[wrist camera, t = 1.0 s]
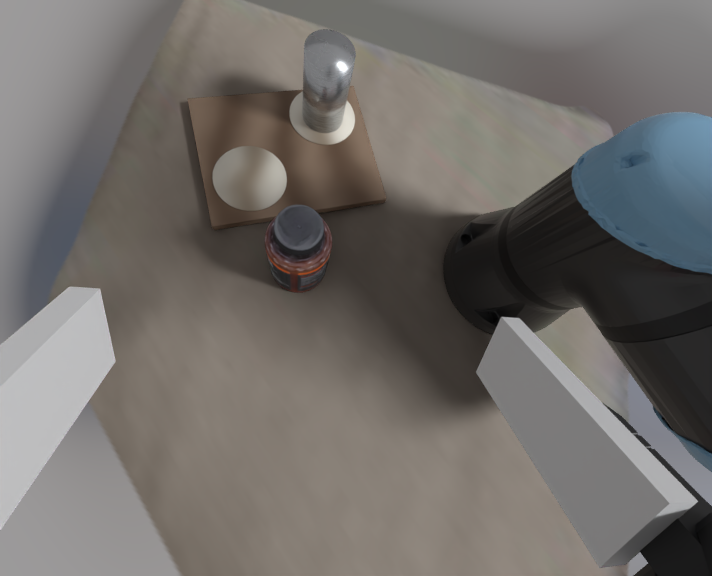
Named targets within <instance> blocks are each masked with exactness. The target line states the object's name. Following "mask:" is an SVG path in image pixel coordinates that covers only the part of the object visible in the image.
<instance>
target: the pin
mask: <svg viewBox="0 0 712 576" xmlns="http://www.w3.org/2000/svg"><path fill="white" fill-rule="evenodd" d="M355 56H356V53H355V48H354V46H353V44H352V43H351V41H350V40H349V39H348V38H347V37H346V36H344V35H343V34H341V33H339V32H337V31H334V30H328V29H323V30H318V31H315V32H313V33H311V34H310V35H309V36H308V37H307V39H306V41H305V45H304V71H303V101H302V117H303V120H304V122H305V123H306V125H307V126H308V127H309V128H311V129H312V130H314V131H316V132H319V133H331V132H334V131H336V130H337V129H338V128H339V127H340V126H341V124H342V122H343V117H344V112H345V107H346V102H347V97H348V92H349V87H350V82H351V77H352V72H353V67H354V62H355Z"/></svg>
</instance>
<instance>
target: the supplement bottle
mask: <svg viewBox="0 0 712 576" xmlns="http://www.w3.org/2000/svg"><path fill="white" fill-rule="evenodd" d="M265 248H266V253H267V256H268V260H269V264H270V268H271V272H272V275H273V277H274V279H275V280H276V282H277V283H278V284H279V285H280V286H281V287H282V288H284V289H286V290H288V291H291V292H306V291H309V290H311V289H313V288H314V287H316V286H317V285H318V284H319V283H320V281H321V280H322V278H323V276H324V274H325V270H326V267H327V264H328V260H329V256H330V253H331V248H332V235H331V232H330V229H329V227H328V225H327V224H326V222H325V221H324V220H323V219H322V218H321V217H320V215H319V214H318V213H317V212H316V211H315V210H314V209H312V208H310V207H308V206H305V205H291V206H288V207H286V208H284V209H283V210H282V211H281V212H280V213H279V214H278V215H277V216H276V217H275V218H274V219H273V220H272V221H271V223H270V224H269V226H268V228H267V230H266V234H265Z"/></svg>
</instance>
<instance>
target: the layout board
mask: <svg viewBox="0 0 712 576" xmlns="http://www.w3.org/2000/svg"><path fill="white" fill-rule="evenodd" d="M302 101H303V90H294V91H281V92H268V93H255V94H242V95H229V96H216V97H203V98H189V99H188V104H189V109H190V115H191V120H192V125H193V131H194V136H195V141H196V146H197V152H198V157H199V162H200V168H201V173H202V178H203V183H204V189H205V194H206V199H207V205H208V210H209V215H210V220H211V226H212V228H213V230H219V229H225V228H231V227H237V226H243V225H249V224H256V223H262V222H268V221H272V220H273V219H274V218H275V217H276V216H277V215H278V214H279V213H280V212H281V211H282V210H283V209H284V208H286V207H288V206H291V205H305V206H308V207H310V208H312V209H314V210H315V211H316V212H317V213H324V212H330V211H336V210H342V209H348V208H354V207H361V206H367V205H373V204H379V203H385V201H386V199H387V198H386V195H385V192H384V188H383V185H382V181H381V178H380V175H379V171H378V168H377V164H376V161H375V158H374V154H373V151H372V147H371V144H370V141H369V137H368V134H367V130H366V127H365V124H364V120H363V117H362V113H361V110H360V107H359V103H358V100H357V97H356V93H355V90H354V86H350V87H349V92H348V97H347V102H346V107H345V112H344V117H343V122H342V124H341V126H340V127H339V128H338V129H337V130H336V131H334V132H331V133H319V132H316V131H314V130H312V129H311V128H309V127H308V126H307V125H306V123H305V122H304V120H303V117H302Z"/></svg>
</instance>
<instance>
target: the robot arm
mask: <svg viewBox="0 0 712 576" xmlns="http://www.w3.org/2000/svg"><path fill="white" fill-rule="evenodd" d="M444 279H445V284H446V287H447V290H448V293H449V295H450V297H451V299H452V301H453V303H454V305H455V306H456V308H457V309H458V310H459V312H460V313H461V314H462V315H463V316H464V317H465V318H466V319H467V320H468V321H469V322H471V323H472V324H473V325H475V326H476V327H478V328H479V329H481V330H483V331H485V332H488V333H491V334H493V336H492V338H491V340H490V342H489V345H488V347H487V349H486V351H485V353H484V356H483V358H482V360H481V362H480V364H479V367H478V369H477V371H476V373H477V375H478V376H479V378H480V380H481V381H482V383H483V384H484V386H485V387H486V389H487V391H488V392H489V394H490V395H491V397H492V399H493V400H494V402H495V403H496V405H497V406H498V408H499V410H500V411H501V413H502V414H503V416H504V417H505V419H506V421H507V422H508V424H509V425H510V427H511V429H512V430H513V432H514V433H515V435H516V436H517V438H518V440H519V441H520V443H521V444H522V446H523V448H524V449H525V451H526V452H527V454H528V455H529V457H530V459H531V460H532V462H533V463H534V465H535V466H536V468H537V470H538V471H539V473H540V474H541V476H542V478H543V479H544V481H545V482H546V484H547V485H548V487H549V489H550V490H551V492H552V493H553V495H554V497H555V498H556V500H557V501H558V503H559V504H560V506H561V508H562V509H563V511H564V512H565V514H566V515H567V517H568V519H569V520H570V522H571V523H572V525H573V527H574V528H575V530H576V531H577V533H578V534H579V536H580V538H581V539H582V541H583V542H584V544H585V545H586V547H587V549H588V550H589V552H590V553H591V555H592V557H593V558H594V560H595V561H596V563H597V564H598V566H599V568H602V567H610V566H619V565H625V564H627V563H628V562H629V561H630V560H631V559H632V558H633V557H635V556H636V555H637V554H638V553H639V552H641V554H642V555H643V556H644V558H645V559H646V560H647V562H648V564H647V565H646V566H645V567H643V568H642V569H641V570H640V571H639V572H637V573H636V574H635V575H634V576H712V506H711V505H710V504H709V503H708V502H706V501H705V500H704V499H703V498H702V497H701V496H700V495H699V494H698V493H697V492H696V491H695V490H694V489H693V488H692V487H691V486H690V485H689V484H688V483H687V482H686V481H685V480H684V479H683V478H682V477H681V476H680V475H679V474H678V473H677V472H676V471H675V470H674V469H673V468H672V467H671V466H670V465H669V464H668V463H667V461H666V460H665V459H664V458H663V457H661V455H659V453H658V452H657V451H656V450H655V449H651V447H650V446H651V445H650V444H649V443H648V442H647V441H646V440H645V439H644V438H643V437H642V436H639V435H638V434H637V432H636V430H635V429H634V428H633V427H632V426H631V425H630V424H629V423H628V422H627V421H626V420H625V419H624V418H623V417H622V416H620V415H619V414H618V413H616V412H615V411H613V410H612V409H611V408H609V407H608V406H606V405H605V404H604V403H602V402H601V401H600V400H599V399H598V398H597V397H596V396H595V395H594V394H593V393H592V392H591V391H590V390H589V389H588V388H587V387H586V386H585V385H584V384H583V383H582V382H581V381H580V380H579V379H578V378H577V377H576V376H575V375H574V374H573V373H572V372H571V371H570V370H569V369H568V367H567V366H566V365H565V364H564V363H563V362H562V361H561V360H560V359H559V358H558V357H557V356H556V355H555V354H554V353H553V352H552V351H551V350H550V349H549V348H548V347H547V346H546V345H545V344H544V343H543V342H542V341H541V340H540V339H539V338H538V337H537V336H536V335H535V334H534V332H536V331H539V330H541V329H543V328H545V327H547V326H548V325H549V324H551V323H552V322H554V321H555V320H556V319H558V318H559V317H560V316H562V315H563V314H565V313H566V312H567V311H569V310H570V309H573V308H578V307H583V308H584V309H585V311H586V312H587V313H588V315H589V316H590V318H591V319H592V321H593V322H594V323H595V324H596V326H597V327H598V329H599V330H600V331H601V333H602V335H603V336H604V338H605V339H606V340H607V342H608V343H609V345H610V346H611V347H612V349H613V350H614V352H615V353H616V354H617V356H618V357H619V359H620V360H621V361H622V363H623V364H624V366H625V367H626V368H627V370H628V371H629V373H630V374H631V375H632V377H633V378H634V380H635V381H636V382H637V384H638V385H639V386H640V388H641V389H642V391H643V392H644V393H645V395H646V396H647V398H648V399H649V400H650V402H651V403H652V404H653V409H654V411H655V413H656V415H657V416H658V418H659V419H660V421H661V422H662V423H663V425H664V426H665V427H666V428H667V429H668V430H670V431H671V432H672V433H673V434H674V435H675V436H676V437H677V438H678V439H679V440H680V442H681V443H682V444H683V446H684V447H685V448H686V449H687V451H688V452H689V453H690V454H691V455H692V456H693V457H694V458H695V459H696V460H697V461H698V462H700V463H701V464H702V465H703V466H704V467H706V468H707V469H708V470H710V471H711V472H712V117H707V116H705V115H701V114H697V113H690V112H671V113H664V114H659V115H654V116H651V117H648V118H645V119H643V120H640V121H638V122H636V123H634V124H633V125H631V126H629V127H628V128H626V129H625V130H623V131H621V132H620V133H618V134H617V135H615V136H614V137H612V138H611V139H609V140H608V141H606V142H605V143H602V144H599V145H597V146H595V147H593V148H591V149H590V150H588V151H587V152H585V153H584V154H583V155H582V156H581V157H580V158H579V159H578V161H577V163H576V164H575V165H573V166H572V167H571V168H569V169H568V170H566V171H565V172H563V173H562V174H561V175H559V176H558V177H556V178H555V179H554V180H552V181H551V182H549V183H548V184H547V185H545V186H544V187H542V188H541V189H539V190H538V191H537V192H535V193H534V194H532V195H531V196H530V197H528V198H527V199H525V200H524V201H523V202H521V203H520V204H518V205H517V206H516V207H512V208H507V209H503V210H499V211H494V212H490V213H486V214H483V215H481V216H479V217H477V218H475V219H473V220H472V221H470V222H469V223H468V224H466V225H465V226H464V227H463V228H461V229H460V230H459V231H458V232H457V233H456V234H455V236H454V237H453V238H452V240H451V241H450V243H449V245H448V248H447V250H446V254H445V258H444ZM114 363H115V356H114V352H113V347H112V342H111V338H110V333H109V328H108V324H107V319H106V314H105V310H104V305H103V300H102V296H101V291H100V289H98V288H84V287H68V288H67V289H66V290H65V291H63V292H62V293H61V294H60V295H59V296H58V297H56V298H55V299H54V300H53V301H52V302H50V303H49V304H48V305H47V306H46V307H45V308H43V309H42V310H41V311H40V312H39V313H38V314H36V315H35V316H34V317H33V318H32V319H30V320H29V321H28V322H27V323H26V324H25V325H23V326H22V327H21V328H20V329H19V330H17V331H16V332H15V333H14V334H13V335H12V336H10V337H9V338H8V339H7V340H5V342H3V343H2V344H1V345H0V530H1V529H2V527H3V525H4V524H5V523H6V521H7V520H8V518H9V517H10V515H11V514H12V512H13V511H14V509H15V508H16V507H17V505H18V504H19V502H20V501H21V499H22V498H23V496H24V495H25V493H26V492H27V490H28V489H29V488H30V486H31V484H32V483H33V482H34V480H35V479H36V477H37V476H38V474H39V473H40V471H41V470H42V469H43V467H44V466H45V464H46V463H47V461H48V460H49V458H50V457H51V455H52V454H53V452H54V451H55V449H56V448H57V446H58V445H59V443H60V442H61V441H62V439H63V438H64V436H65V435H66V433H67V432H68V430H69V429H70V427H71V426H72V424H73V423H74V421H75V420H76V419H77V417H78V416H79V414H80V413H81V411H82V410H83V408H84V407H85V405H86V404H87V403H88V401H89V400H90V398H91V397H92V395H93V394H94V392H95V391H96V389H97V388H98V386H99V385H100V383H101V382H102V381H103V379H104V378H105V376H106V375H107V373H108V372H109V370H110V369H111V367H112V366H113V364H114Z"/></svg>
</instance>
